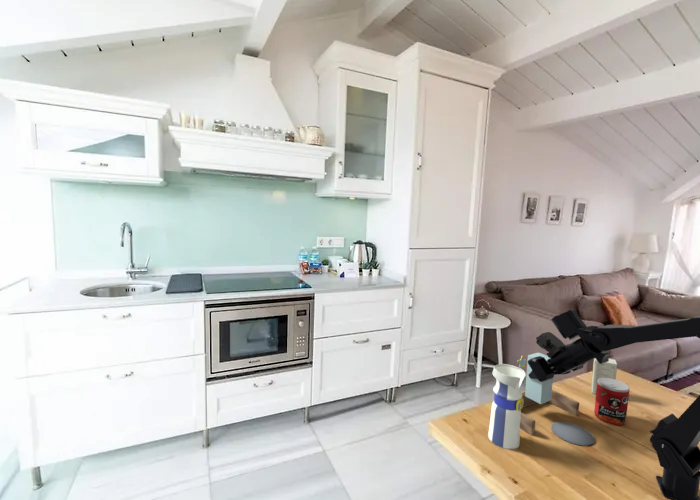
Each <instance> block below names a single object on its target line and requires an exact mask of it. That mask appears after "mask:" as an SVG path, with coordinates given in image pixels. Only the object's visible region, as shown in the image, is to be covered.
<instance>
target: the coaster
mask: <svg viewBox="0 0 700 500" xmlns="http://www.w3.org/2000/svg"><path fill="white" fill-rule="evenodd" d="M550 427H551V431H552V432H553V433H554V435H555V436H557V437H558V438H559V439H561V440H563V441H565V442H567V443H569V444H572V445H576V446H582V447H589V446H591V445H594V444H595V437H594V435H593V434H592V433H591V432H590V431H589V430H587V429H586V428H585V427H582V426H581V425H577V424H575V423H572V422H568V421H562V420H561V421H555V422H553V423H551V426H550Z"/></svg>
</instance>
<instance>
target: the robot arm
mask: <svg viewBox="0 0 700 500" xmlns="http://www.w3.org/2000/svg"><path fill="white" fill-rule="evenodd" d="M550 321H551V323H553V325H554V327H555V328H556V330H557V331H558V332H559V334H560V335H561V336H562V338H563V339H565V340H566V339H569V341H572V340H574V341H572V342H571V343H568V344H565V343H564V342H563V341H562V340H561V339H560V338H559V337H558V336H556V335H555V334H554V333H552V332H550V331H547V332H543V333H541V334H540V335H538V336H537V337H536V338H535V339H536V341H535V343H536V344H537V346H539V347H540V348H541V349H543V350H545V351H546V352H547V353H546V356H548V357H549V358H551V359H548V360H547V361H548V363H549V364H548V363H547V361H546V360H545V358H544V357H541V356H538V357H534V358H532V359H530V360H528V359H527V360H528V364H529V366H530V367H531V369H532V371H531V372H530V374H529V375H528V376H529V377H530V379H538V380H539V381H540V382H543V381H547V380H549V379H552V378H554V377H555V375H568V374H571V373H572V372H577V371H579V370H583V368H584V365H585V364H586V363H588V362H590V361H592V360H594V358H596V360H597V361H598V362H599V363H600V364H602V363H605V362H608V361H609V359H610V358H609V355H610V353H609V352H608V351H611V350H615V349H618V348H623V347H626V346H629V345H632V344H636V343H645V342H646V343H647V342H654V341H655V342H656V341H664V340H665V341H666V340H676V339H683V338H685V339H686V338H698V339H700V315H698V316H694V317H690V318H682V319H676V320H669V321H663V322H662V321H661V322H655V323H647V324H640V325H628V324H606V325H603V326H598V325H589V326H587V325H586V324H585V322H584V321H583V320H582V318H581V317H580V316H579V313H578V311H576V309H569V310H567V311H565V312H562V313H560V314H557V315H555V316H554V317H552V318H551V319H550ZM577 338H578V339H577ZM575 339H576V340H575ZM552 367H554V368H552ZM649 434H651V436H650V439H649V442H650V443H651V447H652V448H653V450H654V451H655V452H656V455H657V459H658V463H659V465H660V467H661V468H663V470H662V476H660V475H656V476H655V479H656V481H657V484H658V487H659V489H660V491H661V494H662V496H664V497H665V498H669V499H671V500H700V496H699V491H700V448H699V446H698V445H699V443H700V394H699V395H698V396H697V397H696V399H694V401H693V402H692V403H691V404H690V405H689V406H688V407H687V408H686V409H685V411H683V412H682V413H681V415H680V416H679V417H677V416H676V415H675V414H674V413H671V414H668V415H667V416H665V417H663V418H661V419H660V420H659V422H657V425H656V427H654V428H653V429H651V430H650V431H649Z"/></svg>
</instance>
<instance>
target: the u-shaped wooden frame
mask: <svg viewBox="0 0 700 500" xmlns="http://www.w3.org/2000/svg"><path fill="white" fill-rule="evenodd" d="M521 393H522V398H523V400H524V403H523V407H522V409H523V408H525V407H528V406H531V405H533V404H536V403H537V402H535V401H533V400H531V399H530V398H528V397H526V396H525V391H524V392H521ZM547 403H549V404H552V405H554V406H556V408H557V407H558V408H560V409H561V410H564V411H566V412H567V413H569V414H571V415H573V416H575V417H576V416H579V409H580V402H579V401H577V400H575V399H573V398H570V397H568V396H567V395H565V394H563V393H560V392H559V391H557V390H554V389H552V395H551V400H550V401H548V402H547ZM535 427H536V419H534V418H532V417H530V416H528V415H527V414H526V413H523V412H522V411H521V420H520V430H522V431H523V432H525V433H527V434H529V435H530V436H533V435H535Z"/></svg>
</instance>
